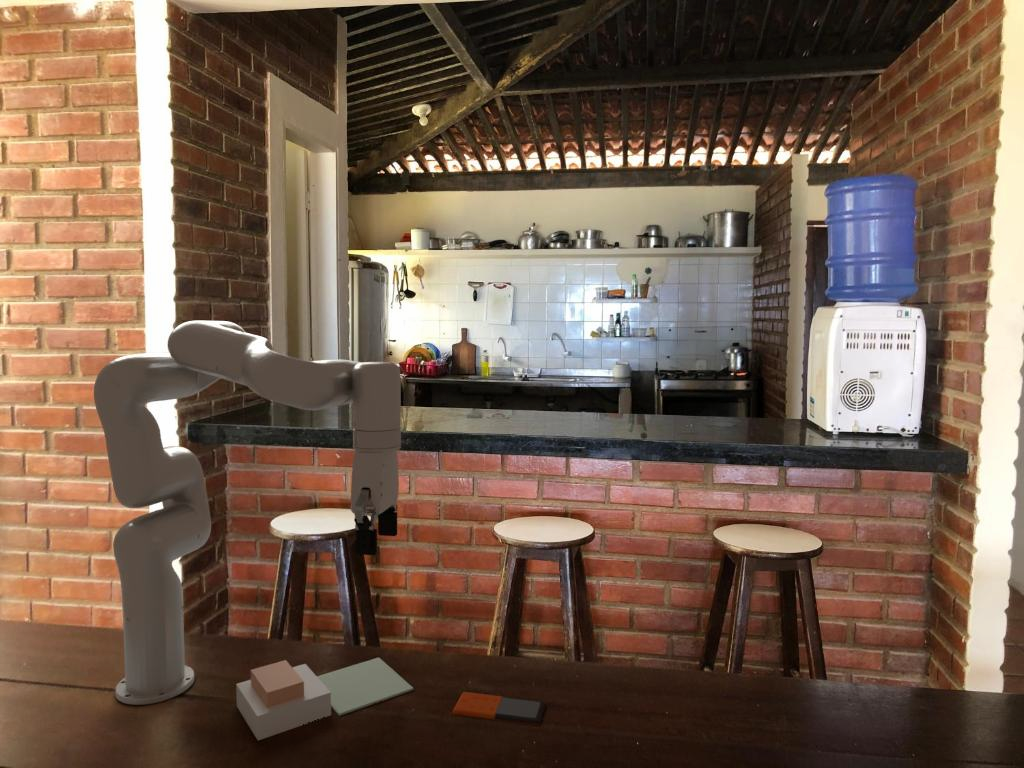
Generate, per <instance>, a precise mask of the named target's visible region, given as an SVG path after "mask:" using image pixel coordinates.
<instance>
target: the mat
mask: <svg viewBox="0 0 1024 768" xmlns="http://www.w3.org/2000/svg"><path fill="white" fill-rule="evenodd" d="M316 676H317V677H318V679H319V680H320V681H321V682H322V683H323V684H324V685H325V686H326V688H327V689H328V690H329V691H330V692H331V709H333V711H334V712H335V713H336V714H337V716H338V717H340V716H343V715H346V714H348V713H352V712H354V711H358V710H360V709H364V708H367V707H368V706H372V705H375V704H378V703H380V701H381V702H383V701H385V700H389V699H392V698H394V697H397V696H400V695H404V694H405V693H409V692H411V691H414V687H413V686H412V685H411V684H409V683H408V682H407V681H406V680H405V679H404V678H403V677H402V676H400V675H399V674H398V673H397V672H396V670H394V669H393V668H392V667H390V666H389V665H388V664H387V663H386V662H385V661H384V660H383V659H381V658H380V657H376V658H372V659H370V660H367V661H362V662H359V663H356V664H352V665H350V666H347V667H343V668H339V669H336V670H334V671H330V672H328V673H324V674H321V675H316ZM374 703H375V704H374Z"/></svg>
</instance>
